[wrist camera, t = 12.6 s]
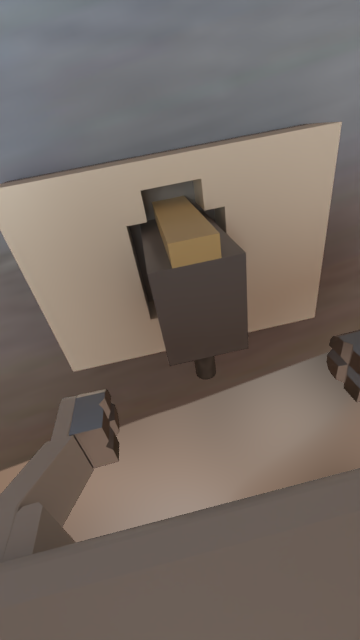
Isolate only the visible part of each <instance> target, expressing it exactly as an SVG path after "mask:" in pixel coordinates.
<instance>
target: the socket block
mask: <svg viewBox="0 0 360 640" xmlns="http://www.w3.org/2000/svg"><path fill="white" fill-rule="evenodd" d="M341 124H342V122H329V123H314V124H303V125H298V126H293V127H287V128H282V129H277V130H272V131H267V132H261V133H256V134H251V135H246V136H241V137H236V138H230V139H225V140H220V141H215V142H210V143H205V144H199V145H194V146H189V147H184V148H179V149H173V150H168V151H163V152H158V153H153V154H148V155H142V156H137V157H132V158H127V159H122V160H116V161H111V162H106V163H101V164H96V165H91V166H85V167H80V168H75V169H70V170H65V171H59V172H54V173H49V174H44V175H39V176H34V177H28V178H23V179H18V180H13V181H8V182H4V183H2V184H0V231H1V233H2V234H3V236H4V238H5V240H6V242H7V244H8V246H9V248H10V250H11V252H12V254H13V256H14V258H15V260H16V262H17V264H18V265H19V267H20V269H21V271H22V273H23V275H24V277H25V279H26V281H27V283H28V285H29V287H30V289H31V291H32V293H33V295H34V296H35V298H36V300H37V302H38V304H39V306H40V308H41V310H42V312H43V314H44V316H45V318H46V320H47V322H48V324H49V326H50V327H51V329H52V331H53V333H54V335H55V337H56V339H57V341H58V343H59V345H60V347H61V349H62V351H63V353H64V355H65V357H66V358H67V360H68V362H69V364H70V366H71V368H72V370H73V372H75V371H79V370H83V369H88V368H92V367H97V366H101V365H106V364H110V363H115V362H119V361H123V360H128V359H132V358H137V357H141V356H146V355H150V354H155V353H159V352H163V351H166V349H165V345H164V341H163V336H162V332H161V328H160V324H159V320H158V316H157V312H156V308H155V304H154V300H153V295H152V291H151V287H150V283H149V279H148V275H147V269H146V262H145V255H144V249H143V242H142V235H141V229H140V224H141V223H146V222H147V220H152V219H155V215H154V211H153V206H152V202H155V201H160V200H165V199H170V198H175V197H180V196H185V197H186V198H187V199H188V200H189V201H190V203H191V204H192V205H193V206H194V207H195V208H196V209H197V210H201V209H202V210H203V211H204V212H205V213H206V214H207V215H208V216H209V217H210V218H211V219H212V220H213V221H214V222H215V223H216V224H217V225H218V226H219V227H220V228H221V229H222V230H223V231H224V232H225V233H226V234H227V235H228V236H229V237H230V238H231V239H232V240H233V241H234V242H235V243H236V244H238V245H239V246H240V247H241V248H242V249H243V250H244V251H245V252H246V274H247V313H248V332H252V331H257V330H261V329H266V328H270V327H275V326H279V325H283V324H288V323H292V322H297V321H301V320H306V319H310V318H315V311H316V304H317V297H318V289H319V282H320V275H321V268H322V261H323V253H324V246H325V239H326V232H327V225H328V218H329V210H330V203H331V196H332V189H333V182H334V175H335V167H336V160H337V153H338V146H339V139H340V131H341Z"/></svg>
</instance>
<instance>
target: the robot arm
mask: <svg viewBox="0 0 360 640" xmlns="http://www.w3.org/2000/svg"><path fill="white" fill-rule="evenodd" d="M329 345H330V347H331V348H332V350H331V351H330V352H329V353H328V355H327V365H328V369H329V371H330V373H331V374H332V375H333V376H334V378H335V379H337V380H339V381H341V382H343V383H344V389H345V390H346V391H347V392H348V393H349V394H350V395H351V397H352V398H353V399H354V400H355V401H356V402H360V330H356V331H352V332H348V333H344V334H340V335H336V336H333V337H332V338H331V339H330V343H329ZM118 433H119V417H118V413H117V409H116V407H115V405H114V404H112V403H111V395H110V393H109V391H108V390H107V389H104V390H99V391H95V392H90V393H85V394H80V395H77V396H72V397H67V398H63V399H62V401H61V402H60V405H59V409H58V413H57V417H56V421H55V425H54V429H53V433H52V437H51V441H47V442H46V443H45V444H44V445H43V446H42V447H41V448H40V449H39V451H38V452H37V453H36V454H35V455H34V456H33V457H32V459H31V460H30V461H29V462H28V463H27V464H26V466H25V467H24V468H23V469H22V470H21V471H20V472H19V474H18V475H17V476H16V477H15V478H14V479H13V481H12V482H11V483H10V484H9V485H8V486H7V487H6V489H5V490H4V491H3V492H2V493H1V494H0V640H360V468H359V469H355V470H351V471H347V472H343V473H340V474H336V475H332V476H328V477H324V478H321V479H317V480H313V481H309V482H305V483H301V484H298V485H294V486H290V487H286V488H282V489H278V490H275V491H271V492H267V493H263V494H260V495H256V496H252V497H248V498H244V499H241V500H237V501H233V502H229V503H225V504H221V505H218V506H214V507H210V508H206V509H203V510H199V511H195V512H192V513H187V514H184V515H180V516H176V517H173V518H168V519H165V520H161V521H157V522H153V523H149V524H146V525H142V526H138V527H134V528H130V529H127V530H123V531H119V532H115V533H112V534H107V535H103V536H100V537H96V538H92V539H88V540H85V541H81V542H77V543H76V542H75V541H74V540H73V539H72V538H71V537H70V535H69V534H68V533H67V532H66V531H65V530H64V529H63V528H62V526H63V525H64V523H65V521H66V519H67V518H68V516H69V514H70V512H71V510H72V508H73V507H74V505H75V503H76V501H77V499H78V498H79V496H80V494H81V492H82V490H83V488H84V487H85V485H86V483H87V481H88V479H89V478H90V476H91V474H92V472H93V468H97V467H100V466H104V465H107V464H111V463H115V462H118V461H119V442H118V440H117V437H116V436H117V434H118Z"/></svg>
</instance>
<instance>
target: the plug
mask: <svg viewBox="0 0 360 640" xmlns="http://www.w3.org/2000/svg"><path fill="white" fill-rule="evenodd" d="M152 206H153V211H154V215H155V219H152V220H147V222H146V223H141V224H140V229H141V235H142V242H143V249H144V255H145V262H146V269H147V275H148V279H149V283H150V287H151V291H152V295H153V300H154V304H155V308H156V312H157V316H158V320H159V324H160V328H161V332H162V336H163V341H164V345H165V349H166V353H167V357H168V361H169V365H170V366H172V365H177V364H181V363H185V362H190V361H194V362H195V368H196V374H197V376H198V377H199V378H201V379H210V378H212V377H214V376H215V374H216V367H215V359H214V356H216V355H220V354H225V353H229V352H233V351H238V350H242V349H247V348H248V313H247V274H246V252H245V251H244V250H243V249H242V248H241V247H240V246H239V245H238V244H236V243H235V242H234V241H233V240H232V239H231V238H230V237H229V236H228V235H227V234H226V233H225V232H224V231H223V230H222V229H221V228H220V227H219V226H218V225H217V224H216V223H215V222H214V221H213V220H212V219H211V218H210V217H209V216H208V215H207V214H206V213H205V212H204V211H203V210H202V209H201V210H197V209H196V208H195V207H194V206H193V205H192V204H191V203H190V201H189V200H188V199H187V198H186V197H185V196H180V197H175V198H170V199H165V200H160V201H155V202H152Z"/></svg>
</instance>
